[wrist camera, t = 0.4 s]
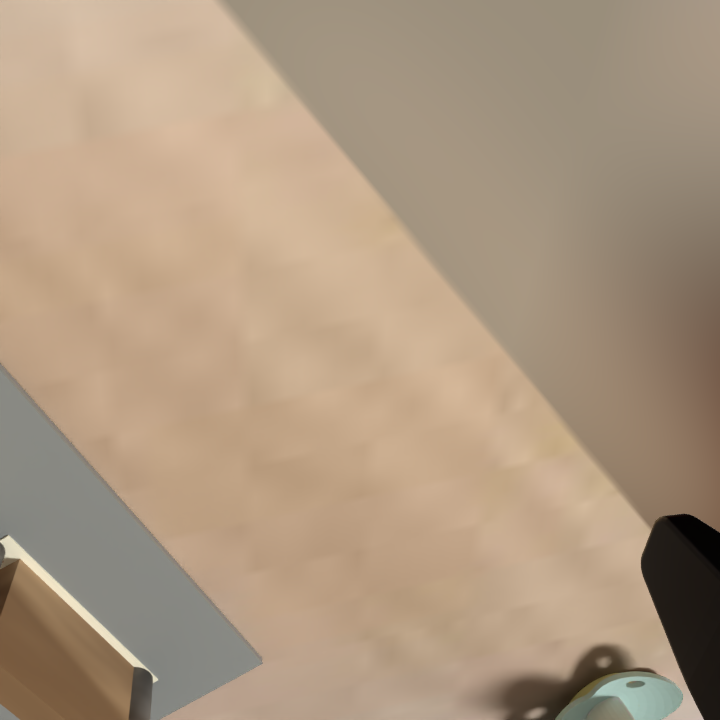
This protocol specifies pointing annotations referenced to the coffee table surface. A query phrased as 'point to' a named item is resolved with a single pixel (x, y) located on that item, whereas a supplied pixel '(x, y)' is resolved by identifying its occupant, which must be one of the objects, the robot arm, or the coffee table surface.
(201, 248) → the coffee table surface
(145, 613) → the card
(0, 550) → the fence gate
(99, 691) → the fence base
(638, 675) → the pacifier
